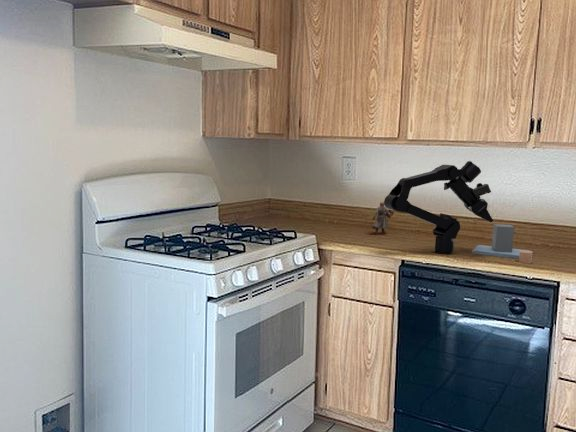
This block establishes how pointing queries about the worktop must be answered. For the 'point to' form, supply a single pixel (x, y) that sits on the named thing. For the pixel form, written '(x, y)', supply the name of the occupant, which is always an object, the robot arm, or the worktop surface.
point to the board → (489, 251)
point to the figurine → (381, 218)
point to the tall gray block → (502, 238)
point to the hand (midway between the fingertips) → (489, 219)
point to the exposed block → (525, 257)
